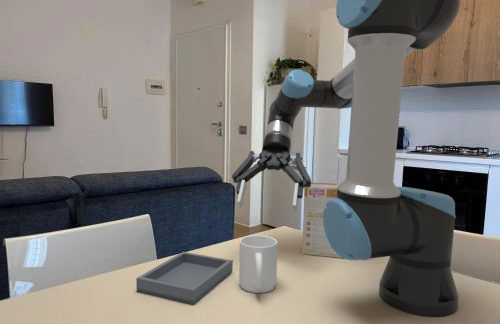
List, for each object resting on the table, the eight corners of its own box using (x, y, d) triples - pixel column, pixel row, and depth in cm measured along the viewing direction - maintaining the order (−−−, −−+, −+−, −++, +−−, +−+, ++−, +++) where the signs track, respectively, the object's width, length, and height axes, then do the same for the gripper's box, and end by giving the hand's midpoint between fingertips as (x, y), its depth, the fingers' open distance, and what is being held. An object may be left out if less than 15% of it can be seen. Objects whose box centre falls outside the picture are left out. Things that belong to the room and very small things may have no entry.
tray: (232, 272, 91) (232, 260, 91) (193, 305, 75) (193, 290, 74) (183, 263, 97) (183, 251, 96) (136, 291, 80) (136, 278, 80)
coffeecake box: (357, 251, 108) (360, 184, 105) (358, 260, 101) (361, 188, 99) (304, 246, 111) (306, 181, 109) (301, 254, 104) (304, 185, 102)
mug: (278, 302, 76) (279, 253, 75) (237, 302, 76) (238, 253, 75) (275, 278, 88) (276, 235, 87) (239, 277, 88) (240, 234, 87)
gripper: (323, 151, 105) (318, 218, 92) (236, 148, 110) (220, 210, 97) (323, 133, 99) (318, 201, 86) (231, 130, 104) (214, 194, 91)
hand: (266, 206), depth 91 cm, fingers open, 13 cm apart
